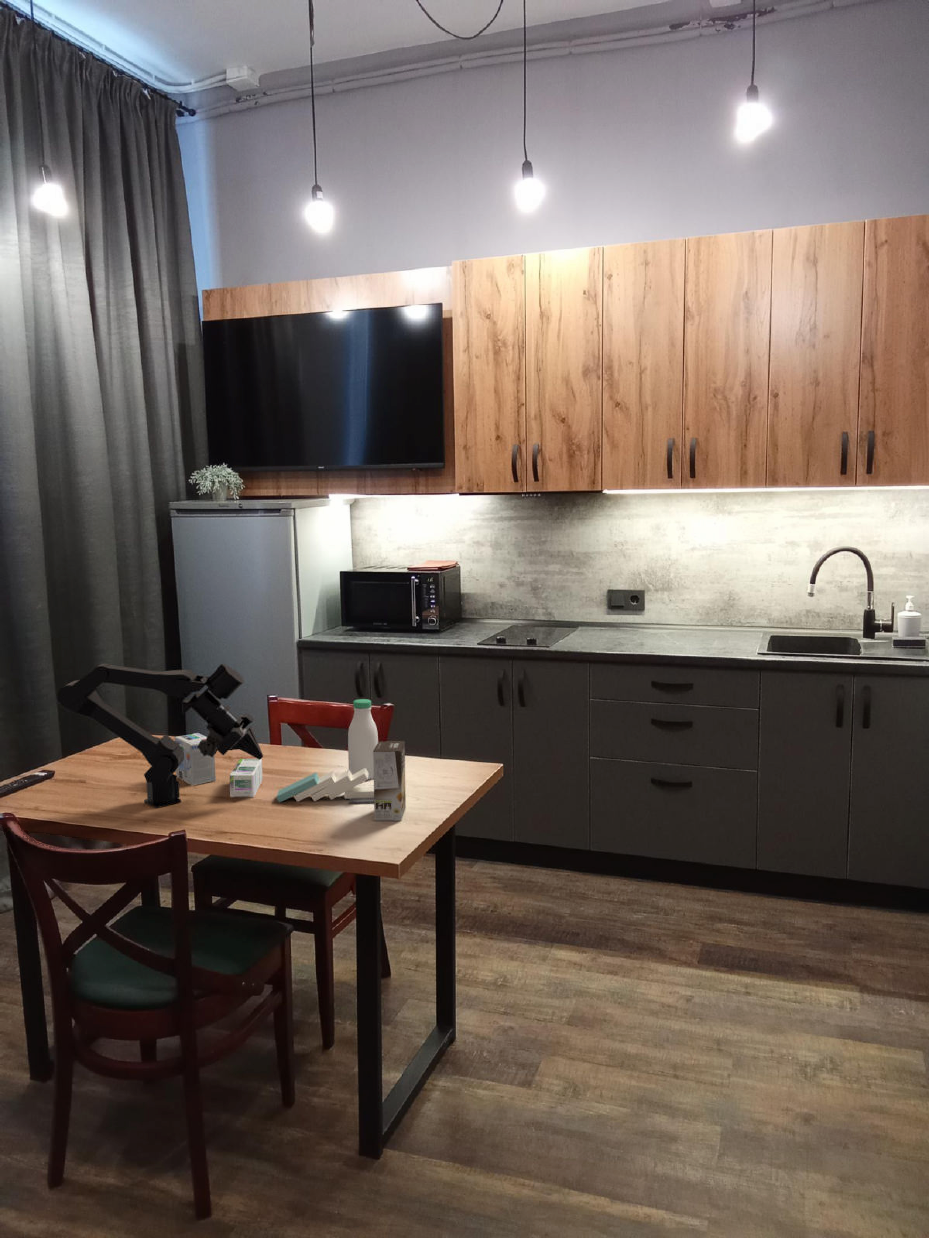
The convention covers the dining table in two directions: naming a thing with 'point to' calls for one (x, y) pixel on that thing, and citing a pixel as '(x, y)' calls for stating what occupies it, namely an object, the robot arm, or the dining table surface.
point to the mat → (361, 800)
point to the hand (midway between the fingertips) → (261, 757)
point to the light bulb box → (195, 761)
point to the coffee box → (389, 781)
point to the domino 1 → (297, 787)
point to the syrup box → (246, 778)
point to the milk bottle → (362, 738)
